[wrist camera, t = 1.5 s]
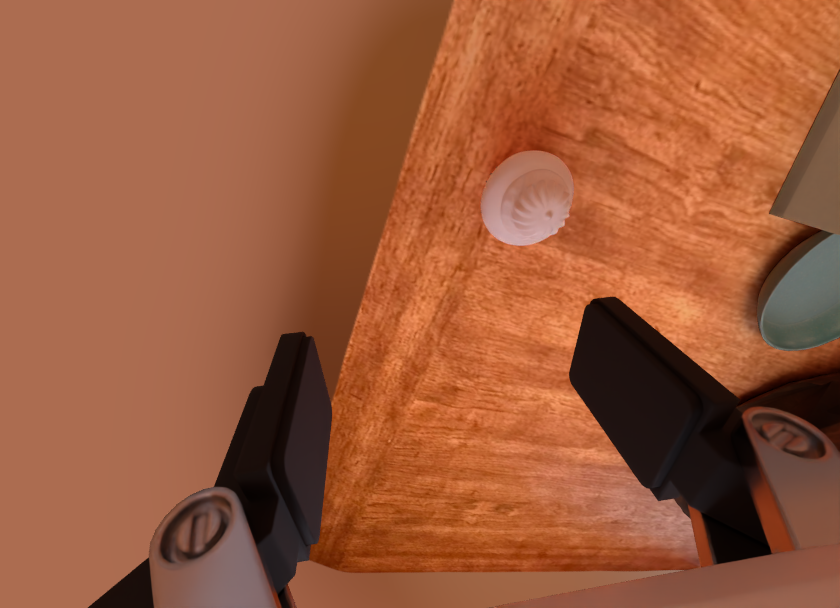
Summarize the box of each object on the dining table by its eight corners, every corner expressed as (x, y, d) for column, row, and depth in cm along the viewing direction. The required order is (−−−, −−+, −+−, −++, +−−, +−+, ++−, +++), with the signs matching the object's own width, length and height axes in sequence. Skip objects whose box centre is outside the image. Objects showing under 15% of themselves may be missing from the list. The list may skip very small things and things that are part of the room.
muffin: (557, 204, 27) (610, 237, 21) (485, 241, 28) (517, 282, 22) (535, 125, 24) (591, 136, 18) (454, 169, 25) (482, 194, 19)
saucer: (911, 253, 34) (949, 265, 32) (772, 354, 40) (796, 370, 38) (866, 166, 29) (909, 173, 26) (710, 298, 34) (734, 313, 32)
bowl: (604, 461, 50) (684, 582, 37) (821, 284, 40) (1044, 362, 26) (728, 528, 61) (825, 639, 48) (923, 404, 51) (1116, 501, 37)
